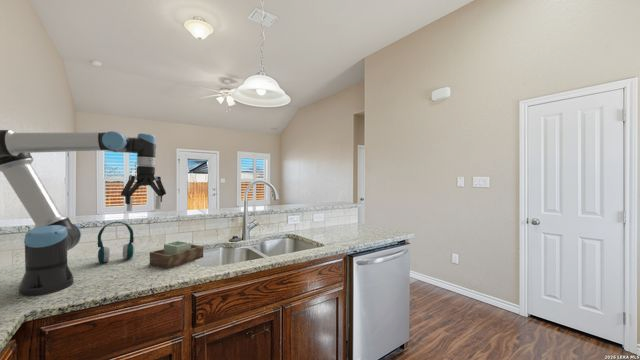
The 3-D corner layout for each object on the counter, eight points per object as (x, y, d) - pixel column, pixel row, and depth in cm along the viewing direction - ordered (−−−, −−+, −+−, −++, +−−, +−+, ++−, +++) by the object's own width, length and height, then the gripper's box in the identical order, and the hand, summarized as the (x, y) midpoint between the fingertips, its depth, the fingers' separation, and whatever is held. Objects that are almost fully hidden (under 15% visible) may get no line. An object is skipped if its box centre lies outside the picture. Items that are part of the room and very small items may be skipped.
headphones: (98, 261, 139) (98, 222, 139) (133, 256, 148) (133, 219, 147) (96, 265, 133) (96, 224, 132) (133, 260, 141) (133, 221, 141)
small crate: (177, 262, 135) (176, 246, 134) (163, 259, 139) (163, 244, 139) (191, 258, 142) (190, 242, 142) (178, 255, 146) (178, 240, 146)
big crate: (168, 268, 128) (168, 256, 128) (149, 264, 135) (149, 252, 134) (203, 257, 146) (203, 246, 146) (185, 253, 153) (185, 243, 152)
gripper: (122, 164, 119) (120, 212, 119) (174, 167, 142) (173, 208, 142) (112, 164, 122) (110, 211, 122) (165, 167, 145) (163, 207, 145)
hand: (144, 209), depth 132 cm, fingers open, 13 cm apart
